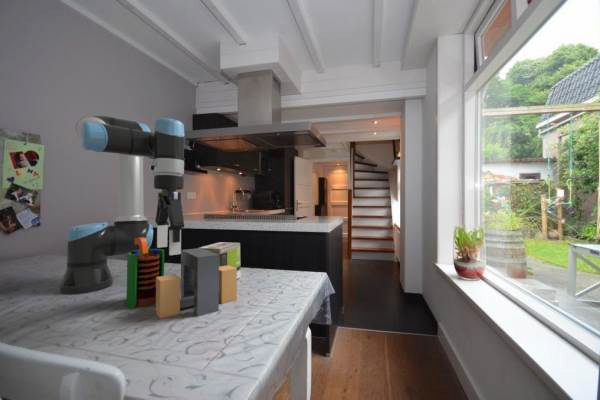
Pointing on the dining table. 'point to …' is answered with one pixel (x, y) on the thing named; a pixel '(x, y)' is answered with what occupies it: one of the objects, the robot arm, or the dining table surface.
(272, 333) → the dining table surface
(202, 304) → the housing
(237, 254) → the tea box
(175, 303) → the tan u-shaped piece
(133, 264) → the motor
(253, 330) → the dining table surface
